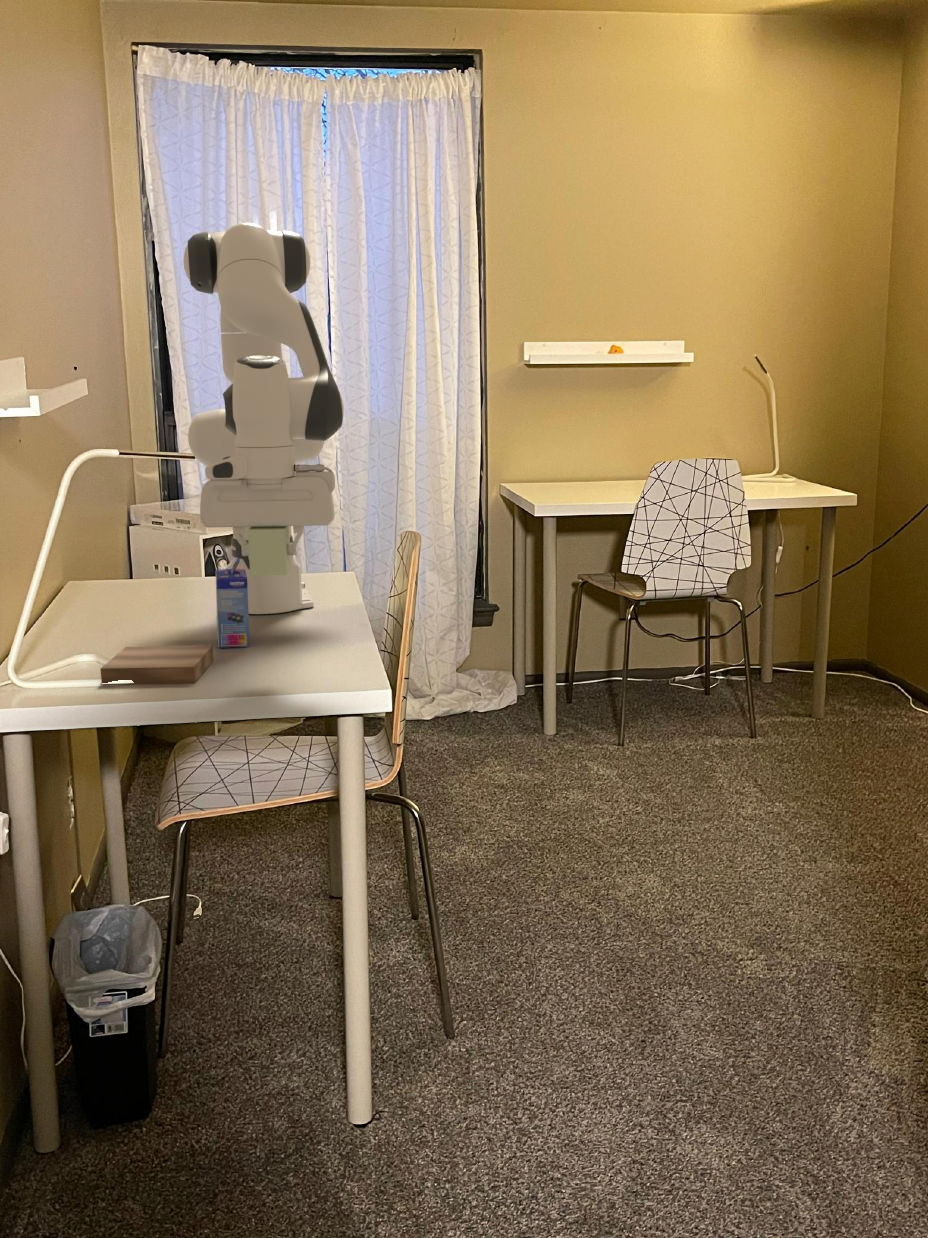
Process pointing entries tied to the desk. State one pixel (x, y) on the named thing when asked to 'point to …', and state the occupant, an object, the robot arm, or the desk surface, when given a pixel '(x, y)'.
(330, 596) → the desk surface
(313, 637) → the desk surface
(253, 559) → the sage block
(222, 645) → the ink cartridge box
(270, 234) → the robot arm
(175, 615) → the desk surface
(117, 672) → the walnut base
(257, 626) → the desk surface
